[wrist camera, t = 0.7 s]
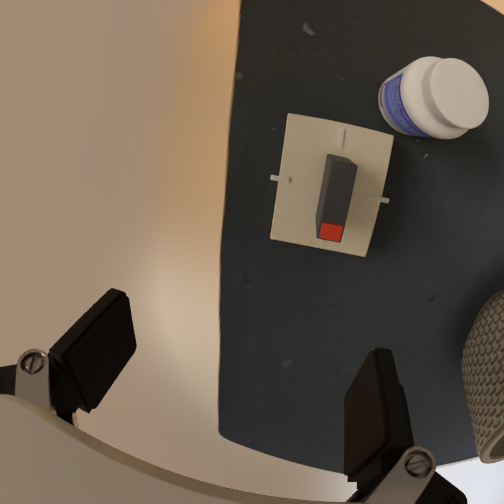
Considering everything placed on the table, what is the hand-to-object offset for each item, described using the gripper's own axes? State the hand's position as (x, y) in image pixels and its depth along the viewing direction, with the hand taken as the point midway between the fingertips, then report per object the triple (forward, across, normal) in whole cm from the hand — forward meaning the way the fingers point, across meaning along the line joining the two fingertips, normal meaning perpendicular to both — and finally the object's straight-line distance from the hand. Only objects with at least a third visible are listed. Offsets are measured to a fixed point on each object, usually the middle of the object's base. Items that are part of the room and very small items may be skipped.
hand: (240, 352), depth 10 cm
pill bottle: (+16, -9, -12) cm, 22 cm away
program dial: (+14, -3, -4) cm, 15 cm away
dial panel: (+16, -3, -4) cm, 17 cm away
